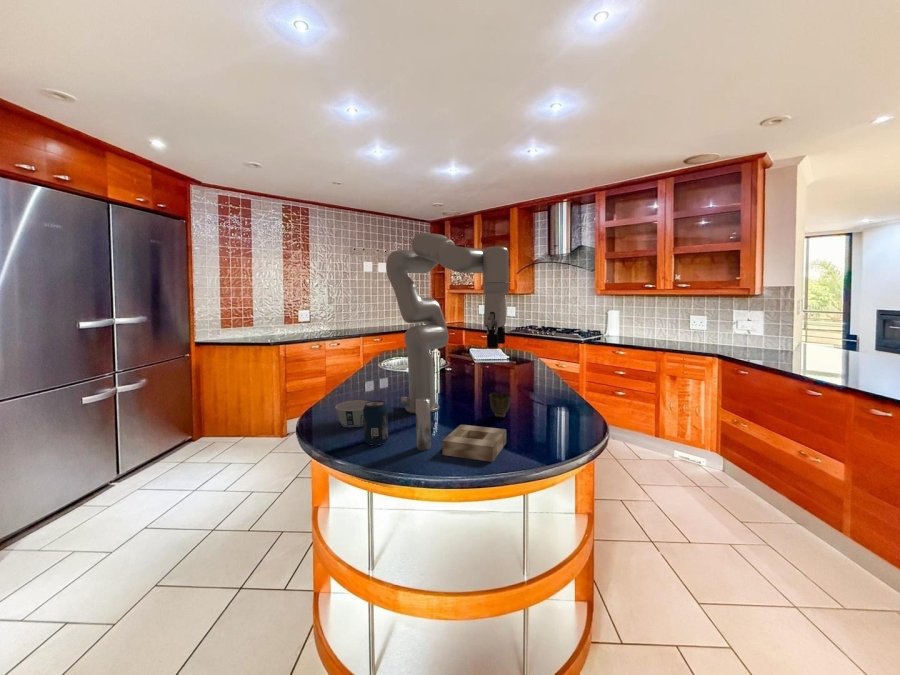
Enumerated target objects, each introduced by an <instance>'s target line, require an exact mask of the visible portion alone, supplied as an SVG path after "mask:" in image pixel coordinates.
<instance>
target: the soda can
mask: <svg viewBox="0 0 900 675" xmlns="http://www.w3.org/2000/svg"><path fill="white" fill-rule="evenodd" d="M388 416H389V415H388V407H387V405H386V402H385V401H383V400H370V401H369V402H366V403H365V407H364V409H363V418H364V426H363V431H364V432H363V433H364V434H363V437H364V442H365V443H366V444H367V443H368V444H373V445H378V444H383V443H385V444H386V443H387V441H388V440H389V420H388V419H389V418H388ZM368 444H367V445H368Z"/></svg>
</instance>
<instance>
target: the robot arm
mask: <svg viewBox="0 0 900 675" xmlns="http://www.w3.org/2000/svg"><path fill="white" fill-rule="evenodd" d="M411 249H412V250H411ZM411 249H410V250H409V249H399V250H398V249H397V250H394V251H392V252H391V253H389V255H388V256H387V259H386V263H385V269H386V276H387V278H388V281H389V283H390V285H391V287H392V289H393V291H394V295H395V298H396V302H397V305H398V309H399V312H400V315H401V318H402V320H403V321H404V323H407V324H419V325H414V326H411V327H408V329H407V330H406V331H405V333H404V344H405V348H406V355H407V366H408V368H407V369H408V370H407V371H408V391H409V392H408V393H409V394H408V396H401V398H400V403H401V404H406V406H405V411H406V412H407V413H409V414H415V415H416V402H415V399H417V398H429V399H430V414H431V413H436V411H439V410H440V404H438V403H436V397H435V396H436V393H435V387H436V386H435V364H434V363H435V361H434V359H433V357H432V355H431V354H430V351H431V350H436V349H437V350H438V349H442V348H445V347H446V346H447V344H448V343H449V339H450V336H449V330H448V326H447V324H446V323H447V322H446V320H445V316H444V313H443V311H442V307H441V305H440V303H439V302H438V301H437V300H435V298H432V297H421V295H420V294H419V290H418V288H417V285H416V283H415V282H414V280H413V279H412V278H411V277H410V276H409V275H408V274H422V275H423V274H427V273H429V272H430V271H432V270H433V269H434V268H435V267H437V266H438V265H440V266H441V267H442V268H444V269H447V270H451V271H452V272H457V273H461V274H462V273H463V274H482V277H483V280H482V281H483V282H482V283H483V286H482V287H483V289H482V290H483V291H482V292H483V295H484V307H483V326H484V327H485V328H486V329H487V330H486V347H487V348H488V349H498V348H499V345H503V344H504V345H505V343H506V330H505V329H506V327H505V325H506V323H507V304H506V303H507V302H506V301H507V299H506V294H510V293H509V287H510V286H509V281H510V280H509V275H510V274H509V269H510V268H509V249H508V248H507V247H505V246H488V247H485V248H476V247H475V248H474V247H463V246H459V245H456V244H455V241H453V240H452V239H451V238H448V237H447V236H446V235H443V234H439V233H430V232H420V233H417V234H416V235H415V236H414V237H413V238H412V240H411ZM421 323H423V324H421ZM424 323H425V324H424Z"/></svg>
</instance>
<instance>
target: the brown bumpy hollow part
mask: <svg viewBox="0 0 900 675" xmlns="http://www.w3.org/2000/svg"><path fill="white" fill-rule="evenodd" d="M511 396H512V395H511V394H510V393H507V392H500V393H499V394H498V392H492V393H490V394H489V395H488V397H489V404H490V409H491V411H492V412H493V413H494V417H495V418H497V417H500V418H499V419H502V417H503V418H505V417H506V413H508V411H509V410H510V406H511Z"/></svg>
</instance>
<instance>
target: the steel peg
mask: <svg viewBox="0 0 900 675" xmlns="http://www.w3.org/2000/svg"><path fill="white" fill-rule="evenodd" d="M415 402H416V414H415V426H416V427H415V428H416V432H415V433H416V449H417V450H419V451H429V450H431V449H432V433H431V430H432V429H431V428H432V427H431V425H432V424H431V413H430V399H429V398H417V399H415Z"/></svg>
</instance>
